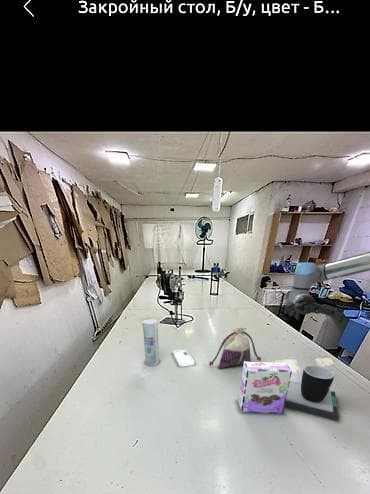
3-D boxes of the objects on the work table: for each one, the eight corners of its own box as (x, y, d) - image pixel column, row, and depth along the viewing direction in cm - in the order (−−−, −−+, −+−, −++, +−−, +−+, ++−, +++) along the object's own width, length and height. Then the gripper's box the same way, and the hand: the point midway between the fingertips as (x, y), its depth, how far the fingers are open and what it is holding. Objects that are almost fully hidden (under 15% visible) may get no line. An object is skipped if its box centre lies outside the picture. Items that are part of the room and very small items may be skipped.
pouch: (214, 374, 100) (217, 332, 92) (206, 365, 107) (208, 326, 99) (263, 365, 108) (269, 325, 100) (252, 357, 115) (257, 320, 107)
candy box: (240, 413, 78) (246, 369, 71) (237, 402, 83) (243, 360, 76) (283, 414, 77) (293, 370, 70) (277, 403, 83) (286, 361, 76)
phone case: (172, 353, 119) (179, 366, 106) (172, 350, 119) (179, 364, 105) (186, 351, 121) (195, 365, 108) (186, 349, 120) (195, 362, 107)
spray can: (142, 364, 108) (139, 322, 100) (149, 358, 114) (147, 318, 105) (155, 366, 106) (153, 324, 98) (161, 360, 111) (160, 320, 103)
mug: (328, 407, 76) (337, 381, 72) (298, 401, 79) (305, 375, 75) (322, 388, 86) (330, 363, 82) (296, 383, 89) (302, 359, 85)
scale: (333, 396, 87) (335, 389, 86) (336, 421, 74) (339, 414, 73) (287, 385, 93) (288, 379, 92) (282, 406, 81) (284, 399, 80)
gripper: (333, 314, 99) (356, 330, 80) (272, 310, 104) (279, 325, 85) (338, 296, 96) (363, 309, 77) (275, 293, 101) (283, 304, 82)
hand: (319, 317), depth 81 cm, fingers open, 13 cm apart
